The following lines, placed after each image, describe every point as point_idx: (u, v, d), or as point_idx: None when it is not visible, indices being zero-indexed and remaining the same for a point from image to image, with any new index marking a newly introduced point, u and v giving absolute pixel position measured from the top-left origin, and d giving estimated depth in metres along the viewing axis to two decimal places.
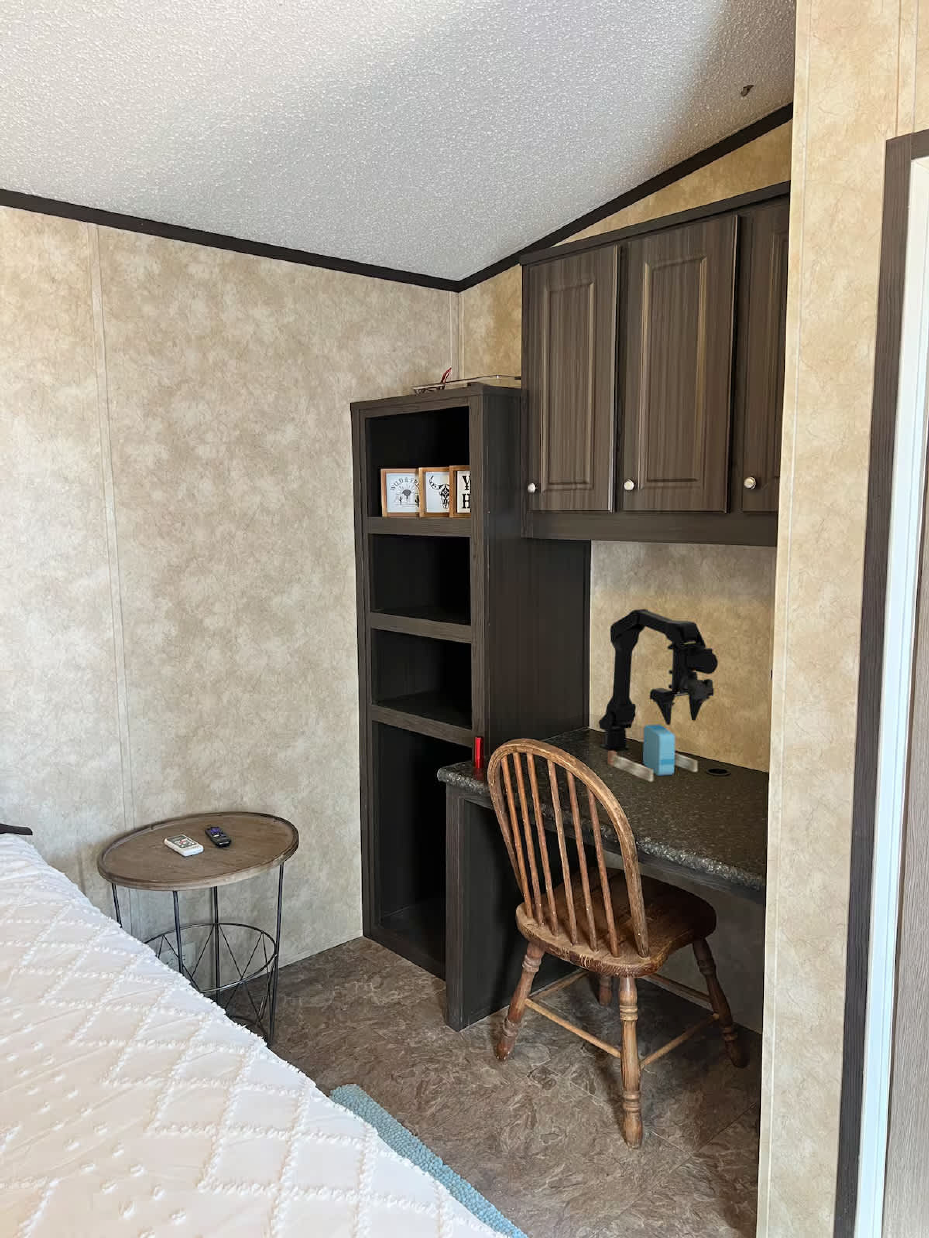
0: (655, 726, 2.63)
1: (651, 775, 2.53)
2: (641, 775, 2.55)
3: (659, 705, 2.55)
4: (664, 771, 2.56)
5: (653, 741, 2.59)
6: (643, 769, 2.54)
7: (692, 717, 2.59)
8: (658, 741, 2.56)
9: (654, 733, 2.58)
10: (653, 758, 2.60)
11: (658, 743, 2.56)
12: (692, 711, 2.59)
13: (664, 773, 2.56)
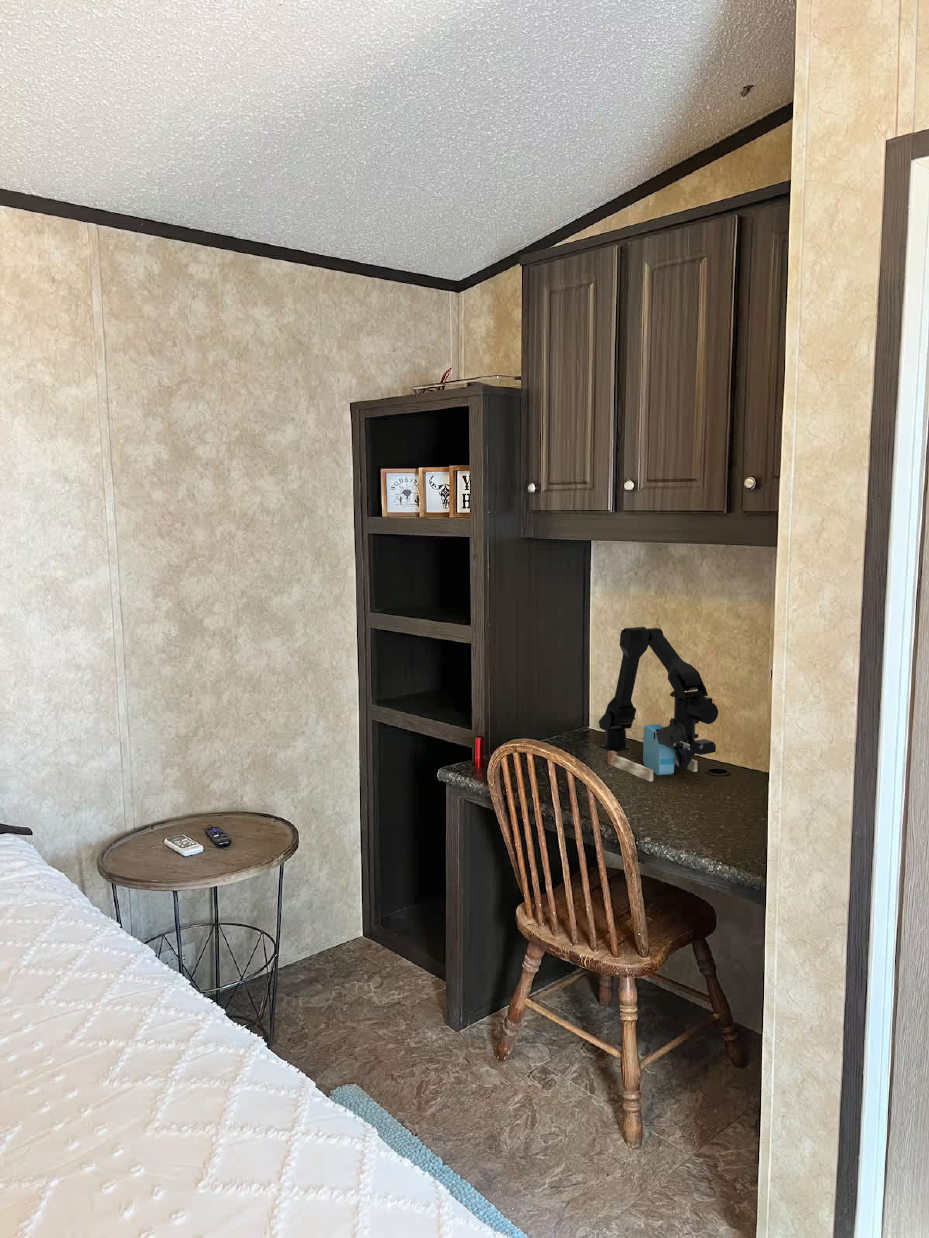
0: (655, 726, 2.63)
1: (651, 775, 2.53)
2: (641, 775, 2.55)
3: None
4: (664, 771, 2.56)
5: (653, 741, 2.59)
6: (643, 769, 2.54)
7: None
8: None
9: None
10: (653, 757, 2.60)
11: None
12: None
13: (664, 772, 2.56)
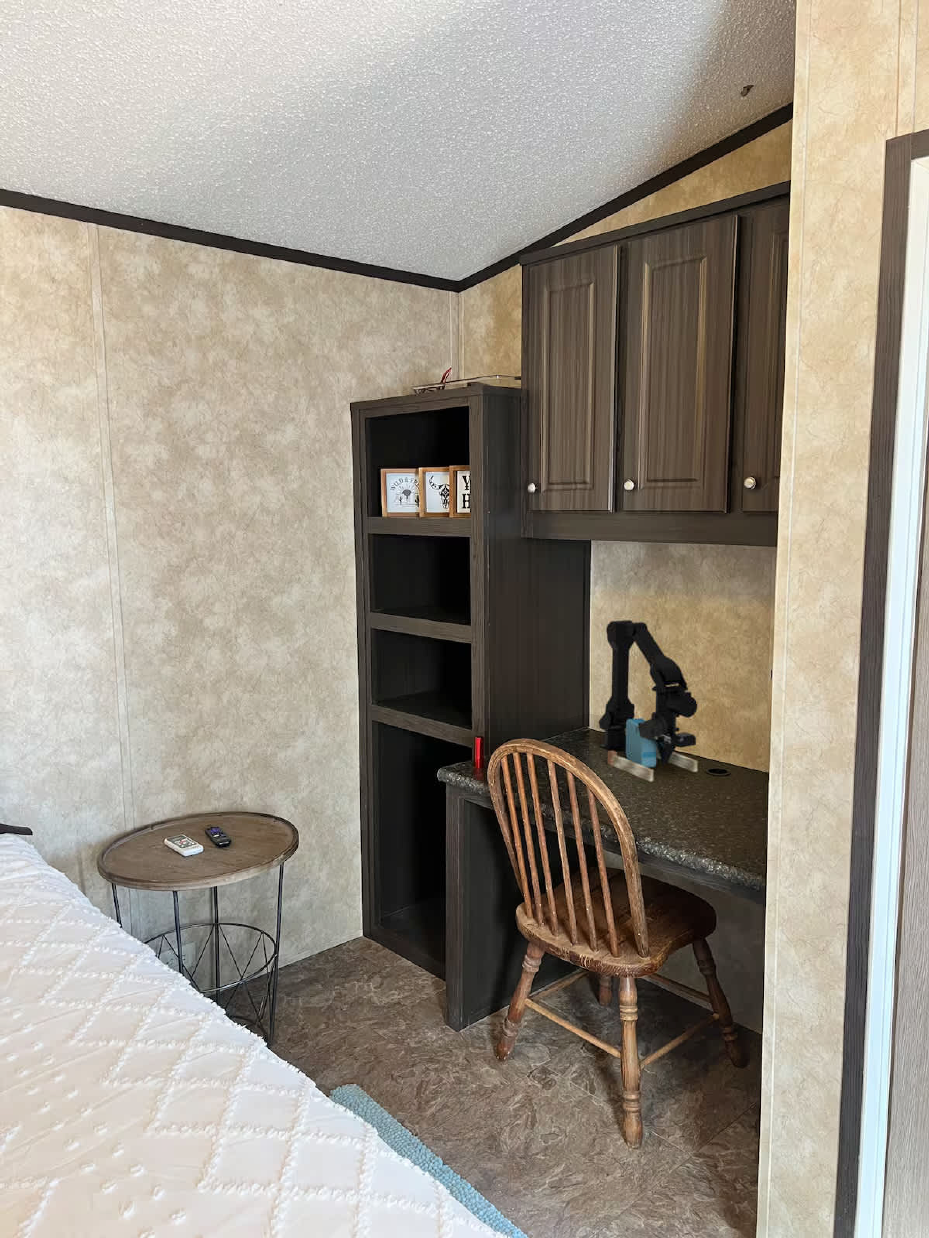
0: (637, 720, 2.69)
1: (651, 775, 2.53)
2: (641, 775, 2.55)
3: None
4: (647, 764, 2.62)
5: (635, 735, 2.65)
6: (643, 769, 2.54)
7: None
8: None
9: None
10: (635, 751, 2.66)
11: None
12: None
13: (646, 765, 2.63)
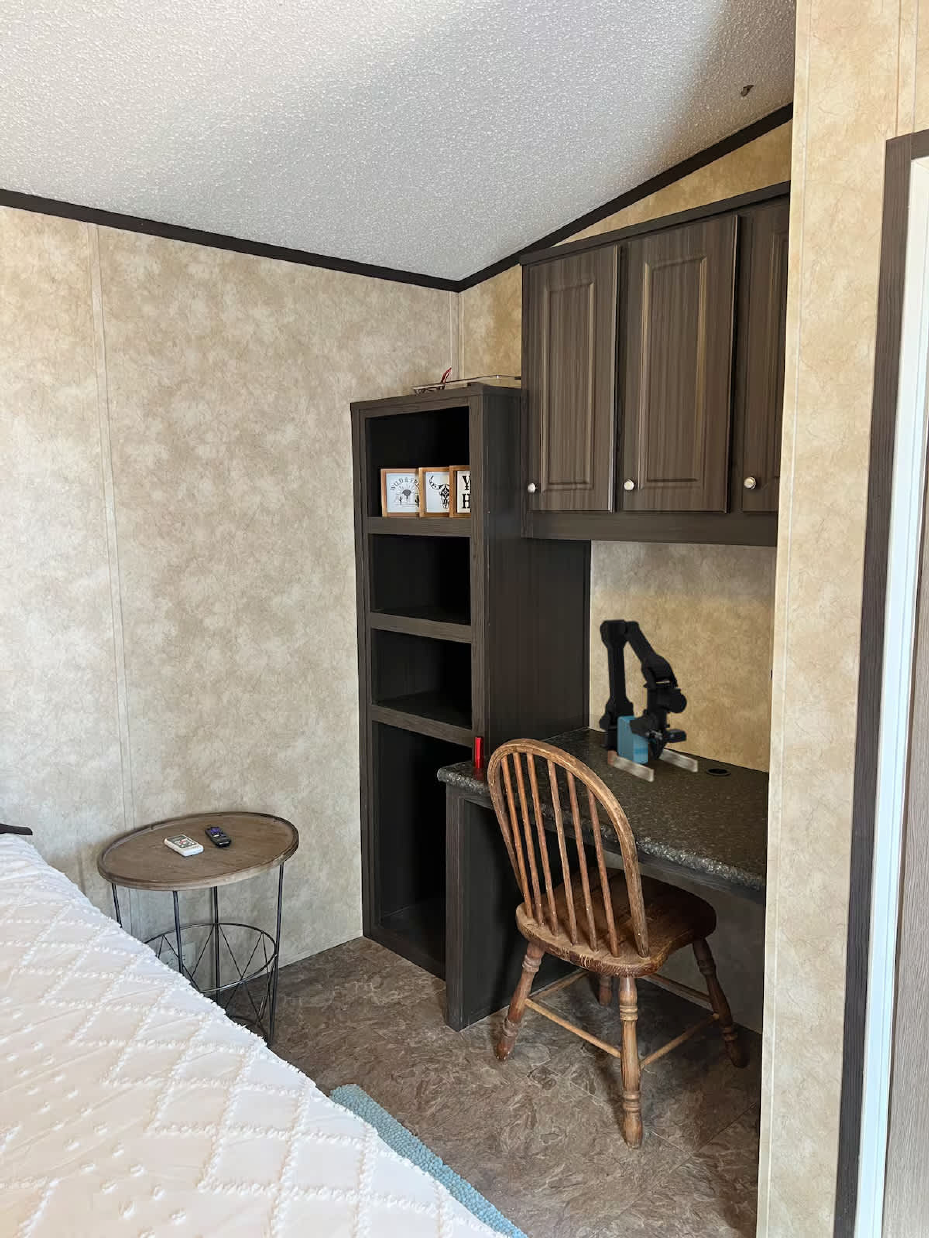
0: (629, 717, 2.72)
1: (651, 775, 2.53)
2: (641, 775, 2.55)
3: None
4: (638, 760, 2.65)
5: (627, 732, 2.69)
6: (643, 769, 2.54)
7: None
8: None
9: (628, 724, 2.68)
10: (627, 748, 2.69)
11: None
12: None
13: (638, 762, 2.66)
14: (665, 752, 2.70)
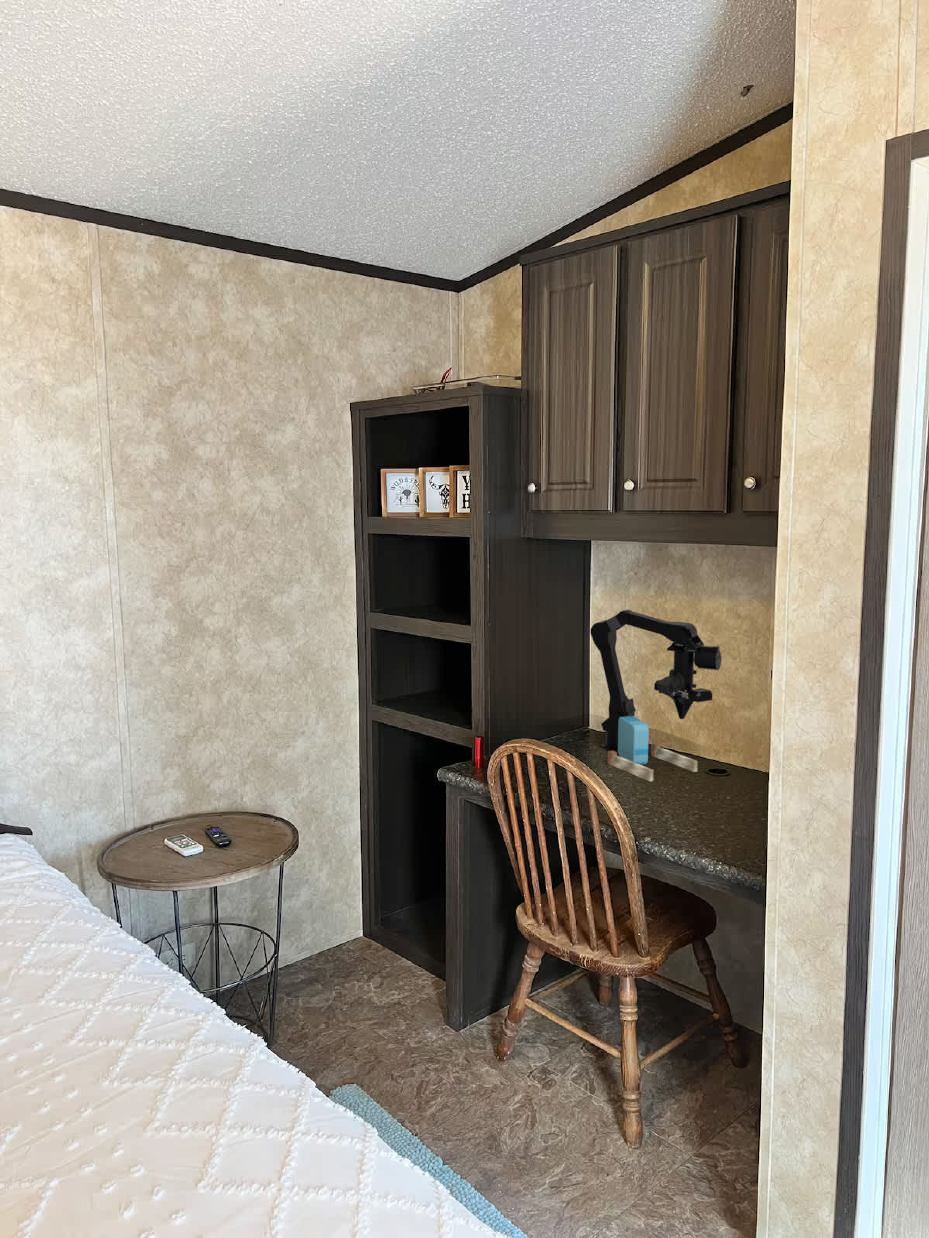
0: (630, 718, 2.72)
1: (651, 775, 2.53)
2: (641, 775, 2.55)
3: None
4: (638, 761, 2.65)
5: (627, 732, 2.68)
6: (643, 769, 2.54)
7: None
8: (632, 732, 2.65)
9: (628, 724, 2.67)
10: (627, 748, 2.69)
11: (632, 733, 2.65)
12: None
13: (638, 762, 2.66)
14: (665, 752, 2.70)
